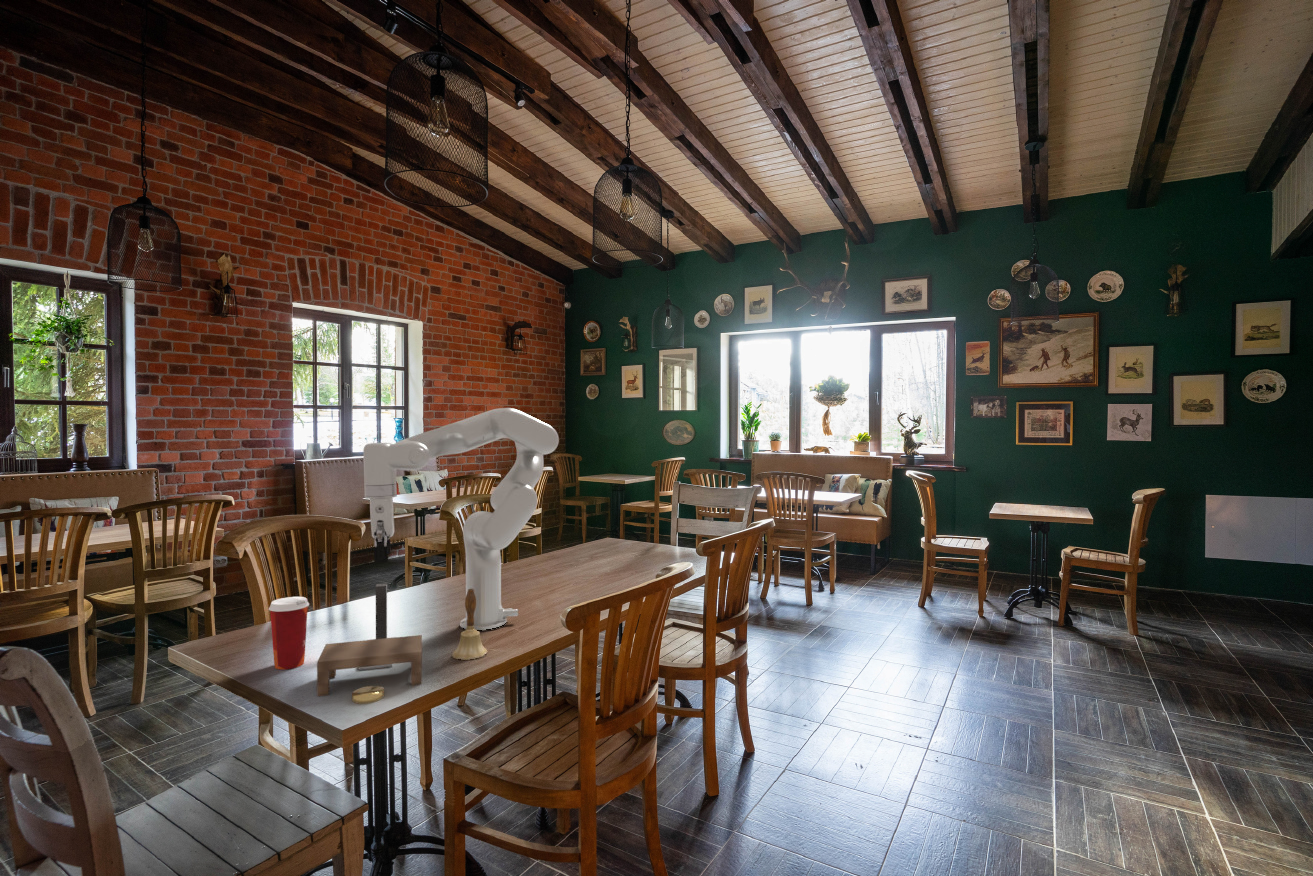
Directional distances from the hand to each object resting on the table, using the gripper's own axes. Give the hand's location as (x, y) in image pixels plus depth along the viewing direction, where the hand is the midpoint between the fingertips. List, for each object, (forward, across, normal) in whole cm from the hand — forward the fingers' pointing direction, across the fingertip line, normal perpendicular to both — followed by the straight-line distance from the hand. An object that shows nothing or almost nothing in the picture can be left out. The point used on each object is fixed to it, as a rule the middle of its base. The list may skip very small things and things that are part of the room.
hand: (382, 558), depth 166 cm
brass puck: (+22, -35, +1) cm, 41 cm away
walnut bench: (+22, -25, +1) cm, 33 cm away
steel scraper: (+22, -8, +1) cm, 23 cm away
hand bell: (+22, -15, -20) cm, 34 cm away
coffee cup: (+21, -9, +20) cm, 31 cm away
